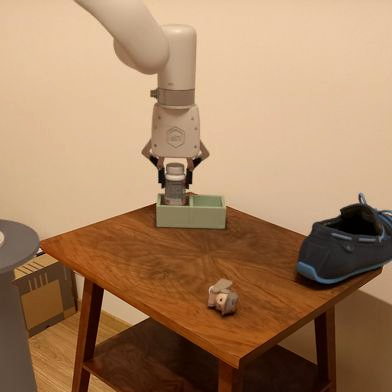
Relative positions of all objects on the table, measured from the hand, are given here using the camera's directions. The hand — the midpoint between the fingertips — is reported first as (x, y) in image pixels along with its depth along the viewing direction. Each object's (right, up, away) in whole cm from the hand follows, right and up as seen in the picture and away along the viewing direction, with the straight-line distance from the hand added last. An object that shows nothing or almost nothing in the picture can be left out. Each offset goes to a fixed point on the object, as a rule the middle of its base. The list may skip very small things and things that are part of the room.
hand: (175, 186), depth 113 cm
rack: (+3, -6, +5) cm, 9 cm away
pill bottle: (0, -3, +2) cm, 4 cm away
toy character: (+6, -26, -25) cm, 37 cm away
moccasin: (+36, -18, -9) cm, 41 cm away
